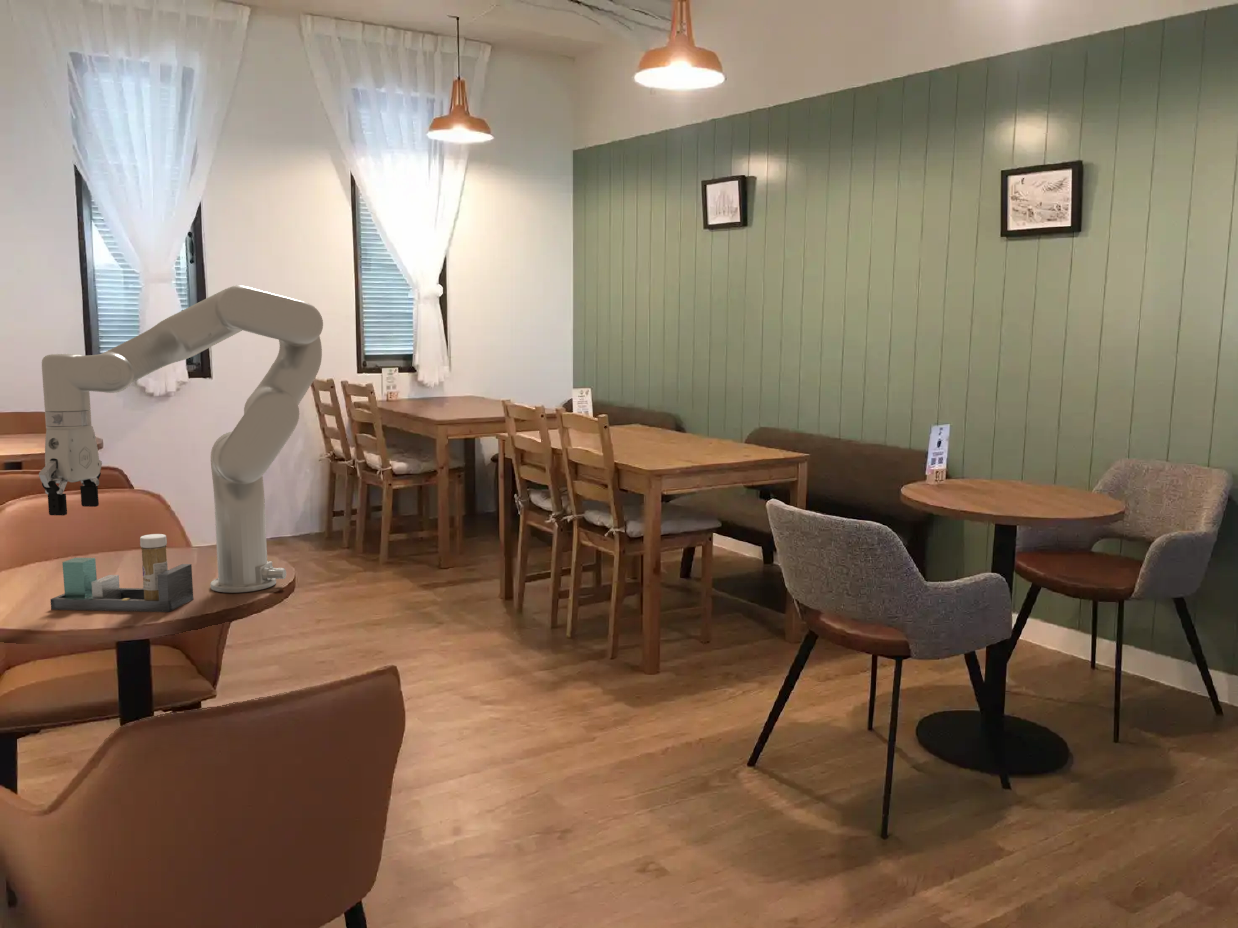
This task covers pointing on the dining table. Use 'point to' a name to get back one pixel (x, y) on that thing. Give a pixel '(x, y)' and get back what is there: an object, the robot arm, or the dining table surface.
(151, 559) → the sprinkles bottle
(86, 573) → the press carriage
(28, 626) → the dining table surface
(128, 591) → the frame
